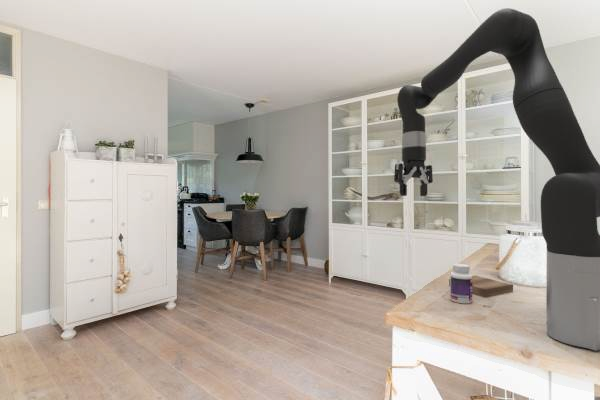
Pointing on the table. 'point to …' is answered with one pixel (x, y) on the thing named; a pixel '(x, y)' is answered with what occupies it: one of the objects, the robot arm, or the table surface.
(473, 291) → the walnut block
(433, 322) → the table surface
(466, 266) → the pill bottle
